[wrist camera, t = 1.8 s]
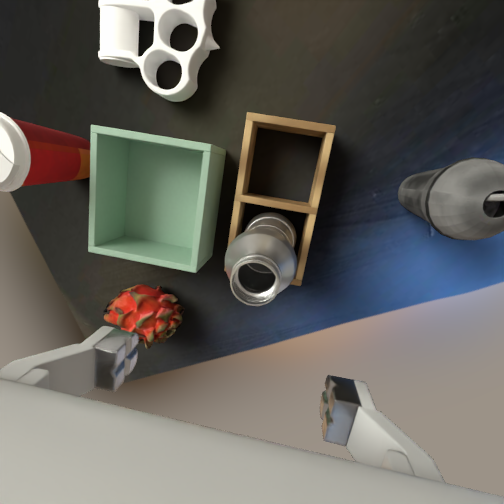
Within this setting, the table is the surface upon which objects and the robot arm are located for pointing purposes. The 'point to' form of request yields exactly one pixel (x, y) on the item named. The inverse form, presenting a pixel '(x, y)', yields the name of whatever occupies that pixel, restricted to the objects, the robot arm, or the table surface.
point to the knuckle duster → (156, 39)
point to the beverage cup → (459, 198)
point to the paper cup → (39, 155)
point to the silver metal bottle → (262, 259)
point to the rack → (309, 208)
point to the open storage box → (153, 198)
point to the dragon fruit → (145, 313)
